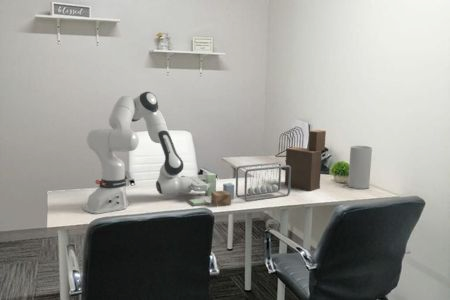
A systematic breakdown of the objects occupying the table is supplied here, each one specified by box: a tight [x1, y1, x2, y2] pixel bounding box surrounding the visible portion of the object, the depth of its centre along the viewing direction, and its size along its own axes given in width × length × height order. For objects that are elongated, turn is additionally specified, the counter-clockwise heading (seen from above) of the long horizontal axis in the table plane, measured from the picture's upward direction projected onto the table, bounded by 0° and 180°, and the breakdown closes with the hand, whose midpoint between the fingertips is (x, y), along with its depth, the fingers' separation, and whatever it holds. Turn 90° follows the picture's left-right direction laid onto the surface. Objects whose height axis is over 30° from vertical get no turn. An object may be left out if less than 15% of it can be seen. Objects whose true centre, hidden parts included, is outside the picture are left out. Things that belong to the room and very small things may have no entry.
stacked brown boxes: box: [284, 129, 327, 192], centre depth 256 cm, size 19×14×35 cm
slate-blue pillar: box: [222, 182, 235, 201], centre depth 228 cm, size 4×4×8 cm
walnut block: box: [210, 190, 232, 208], centre depth 219 cm, size 8×8×6 cm
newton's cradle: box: [235, 161, 291, 202], centre depth 233 cm, size 30×10×18 cm, turn 118°
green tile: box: [186, 198, 210, 207], centre depth 219 cm, size 9×9×1 cm
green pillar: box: [204, 172, 217, 197], centre depth 235 cm, size 4×4×12 cm
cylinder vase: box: [347, 145, 373, 190], centre depth 258 cm, size 12×12×25 cm
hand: (209, 182), depth 234 cm, fingers open, 8 cm apart
